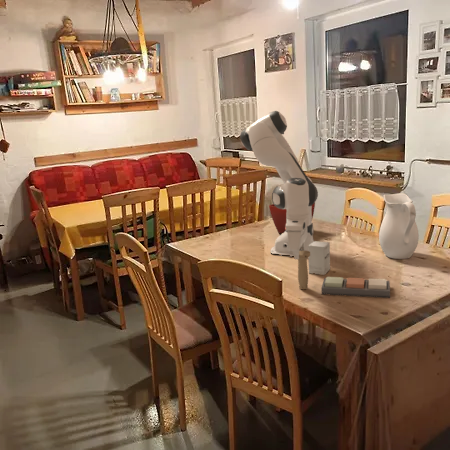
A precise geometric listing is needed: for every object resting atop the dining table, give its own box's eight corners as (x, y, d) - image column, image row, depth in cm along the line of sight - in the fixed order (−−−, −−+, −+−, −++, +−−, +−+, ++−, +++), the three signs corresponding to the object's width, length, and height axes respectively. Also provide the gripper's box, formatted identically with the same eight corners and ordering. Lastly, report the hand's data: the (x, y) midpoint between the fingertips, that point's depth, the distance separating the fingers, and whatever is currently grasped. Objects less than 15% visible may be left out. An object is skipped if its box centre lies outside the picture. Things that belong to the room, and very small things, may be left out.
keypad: (321, 294, 177) (321, 288, 177) (324, 284, 187) (324, 278, 186) (389, 297, 170) (390, 291, 169) (389, 287, 179) (389, 280, 178)
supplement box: (324, 275, 196) (324, 247, 193) (308, 273, 200) (307, 245, 197) (330, 269, 202) (330, 242, 199) (314, 267, 206) (313, 240, 203)
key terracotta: (346, 289, 176) (346, 283, 175) (347, 282, 182) (347, 277, 181) (364, 289, 174) (363, 284, 173) (364, 283, 180) (364, 278, 179)
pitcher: (374, 250, 222) (374, 194, 215) (410, 248, 221) (411, 191, 214) (390, 268, 198) (391, 204, 192) (430, 265, 198) (432, 202, 191)
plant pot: (269, 233, 265) (267, 205, 260) (290, 226, 277) (289, 198, 273) (295, 239, 251) (294, 208, 247) (316, 230, 263) (316, 201, 259)
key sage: (325, 288, 178) (325, 282, 178) (326, 281, 184) (326, 276, 184) (342, 288, 176) (342, 283, 176) (343, 282, 182) (343, 277, 182)
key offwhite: (368, 290, 173) (368, 284, 173) (368, 283, 179) (368, 278, 179) (386, 291, 171) (386, 285, 171) (386, 284, 177) (386, 279, 177)
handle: (293, 288, 185) (291, 253, 181) (306, 284, 188) (305, 249, 184) (300, 292, 181) (299, 256, 177) (313, 288, 183) (312, 252, 180)
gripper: (295, 214, 188) (296, 246, 191) (284, 227, 169) (286, 263, 173) (310, 214, 186) (311, 247, 189) (301, 227, 167) (302, 263, 170)
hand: (299, 254), depth 181 cm, fingers open, 8 cm apart
